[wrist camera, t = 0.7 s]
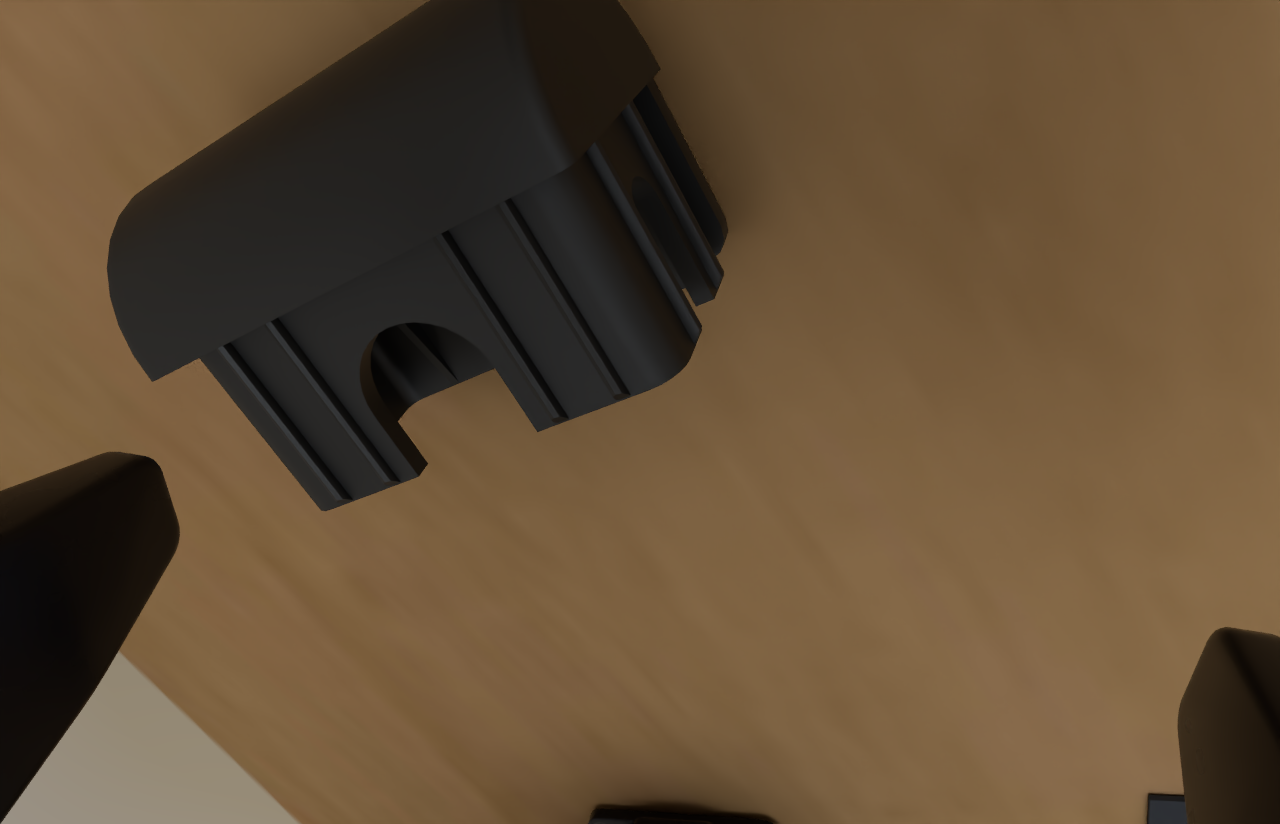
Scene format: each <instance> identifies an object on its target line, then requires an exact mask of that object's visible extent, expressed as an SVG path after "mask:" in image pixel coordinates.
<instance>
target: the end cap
mask: <svg viewBox="0 0 1280 824" xmlns="http://www.w3.org/2000/svg"><path fill="white" fill-rule="evenodd" d="M659 70H660V67H659V65H658V63H657V62H656V60H655V58H654V56H653V54H652V53H651V51H650V49H649V47H648V45H647V43H646V42H645V40H644V39H643V37H642V36H641V34H640V32H639V31H638V29H637V28H636V26H635V25H634V23H633V21H632V20H631V18H630V17H629V16H628V14H627V13H626V11H625V10H624V9H623V7H622V6H621V5H620V3H619V2H618V1H617V0H430V1H428V2H427V3H425V4H424V5H422V6H421V7H419V8H418V9H416V10H415V11H413V12H412V13H410V14H409V15H407V16H405V17H404V18H402V19H401V20H399V21H398V22H396V23H395V24H393V25H392V26H390V27H389V28H387V29H386V30H384V31H383V32H381V33H380V34H378V35H377V36H375V37H373V38H372V39H370V40H369V41H367V42H366V43H364V44H363V45H361V46H360V47H358V48H357V49H355V50H354V51H352V52H351V53H349V54H348V55H346V56H345V57H343V58H342V59H340V60H338V61H337V62H335V63H334V64H332V65H331V66H329V67H328V68H326V69H325V70H323V71H322V72H320V73H319V74H317V75H316V76H314V77H313V78H311V79H310V80H308V81H306V82H305V83H303V84H302V85H300V86H299V87H297V88H296V89H294V90H293V91H291V92H290V93H288V94H287V95H285V96H284V97H282V98H281V99H279V100H278V101H276V102H275V103H273V104H271V105H270V106H268V107H267V108H265V109H264V110H262V111H261V112H259V113H258V114H256V115H255V116H253V117H252V118H250V119H249V120H247V121H246V122H244V123H243V124H241V125H240V126H238V127H236V128H235V129H233V130H232V131H230V132H229V133H227V134H226V135H224V136H223V137H221V138H220V139H218V140H217V141H215V142H214V143H212V144H211V145H209V146H208V147H206V148H204V149H203V150H201V151H200V152H198V153H197V154H195V155H194V156H192V157H191V158H189V159H188V160H186V161H185V162H183V163H182V164H180V165H179V166H177V167H176V168H174V169H173V170H171V171H169V172H168V173H166V174H165V175H163V176H162V177H160V178H159V179H157V180H156V181H154V182H153V183H151V184H150V185H149V186H147V187H146V188H144V189H143V190H142V191H140V192H139V193H138V194H136V195H135V196H134V197H133V198H132V199H131V200H130V202H129V203H128V205H127V206H126V207H125V209H124V210H123V211H122V213H121V214H120V215H119V217H118V220H117V222H116V225H115V228H114V230H113V233H112V236H111V239H110V245H109V254H108V264H107V273H108V282H109V291H110V298H111V302H112V305H113V308H114V311H115V315H116V318H117V321H118V325H119V327H120V329H121V331H122V333H123V335H124V337H125V339H126V341H127V344H128V346H129V348H130V350H131V352H132V354H133V355H134V357H135V358H136V360H137V361H138V363H139V364H140V365H141V367H142V368H143V370H144V371H145V372H146V374H147V375H148V377H149V378H150V379H151V381H152V382H153V381H155V380H157V379H159V378H161V377H163V376H165V375H167V374H169V373H171V372H173V371H175V370H177V369H179V368H181V367H183V366H184V365H186V364H188V363H190V362H192V361H194V360H196V359H198V358H200V359H201V361H202V362H203V363H204V364H205V366H206V367H207V368H208V369H209V371H210V372H211V373H212V374H213V376H214V377H215V378H216V379H217V381H218V382H219V383H220V384H221V386H222V387H223V388H224V389H225V391H226V392H227V393H228V394H229V396H230V397H231V398H232V399H233V401H234V402H235V403H236V404H237V406H238V407H239V408H240V409H241V411H242V412H243V413H244V414H245V416H246V417H247V418H248V419H249V421H250V422H251V423H252V424H253V426H254V427H255V428H256V429H257V431H258V432H259V433H260V434H261V436H262V437H263V438H264V439H265V441H266V442H267V443H268V444H269V446H270V447H271V448H272V449H273V451H274V452H275V453H276V455H277V456H278V457H279V458H280V460H281V461H282V462H283V463H284V465H285V466H286V467H287V468H288V470H289V471H290V472H291V473H292V475H293V476H294V477H295V478H296V480H297V481H298V482H299V483H300V485H301V486H302V487H303V488H304V490H305V491H306V492H307V493H308V495H309V496H310V497H311V498H312V500H313V501H314V502H315V503H316V505H317V506H318V507H319V508H320V510H321V511H327V510H331V509H334V508H336V507H339V506H342V505H344V504H347V503H350V502H352V501H355V500H358V499H360V498H363V497H366V496H368V495H371V494H374V493H376V492H379V491H382V490H384V489H387V488H390V487H392V486H395V485H398V484H400V483H403V482H406V481H408V480H411V479H414V478H416V477H419V476H420V474H421V473H422V471H423V470H424V469H425V467H426V466H427V465H428V463H427V461H426V460H425V459H424V457H423V456H422V455H421V453H420V452H419V450H418V449H417V448H416V446H415V445H414V444H413V442H412V441H411V439H410V438H409V437H408V435H407V434H406V433H405V431H404V430H403V428H402V427H401V426H400V424H399V423H398V422H397V421H398V420H399V419H400V418H401V417H402V415H403V414H404V413H405V412H406V410H407V409H408V408H409V407H410V406H412V405H413V404H414V403H416V402H417V401H419V400H421V399H423V398H425V397H428V396H430V395H432V394H435V393H437V392H439V391H442V390H444V389H447V388H449V387H451V386H454V385H456V384H458V383H461V382H463V381H465V380H468V379H470V378H473V377H475V376H477V375H480V374H482V373H484V372H487V371H489V370H492V369H494V368H495V369H496V370H497V372H498V373H499V375H500V376H501V378H502V379H503V381H504V382H505V384H506V385H507V387H508V388H509V390H510V391H511V393H512V394H513V396H514V397H515V399H516V400H517V402H518V403H519V405H520V406H521V408H522V409H523V411H524V412H525V414H526V415H527V417H528V418H529V420H530V421H531V423H532V424H533V426H534V427H535V429H536V430H537V432H539V431H542V430H544V429H547V428H550V427H552V426H555V425H558V424H560V423H563V422H566V421H568V420H571V419H574V418H576V417H579V416H582V415H584V414H587V413H590V412H592V411H595V410H598V409H600V408H603V407H606V406H608V405H611V404H614V403H616V402H619V401H622V400H624V399H627V398H629V397H632V396H635V395H637V394H640V393H643V392H645V391H648V390H651V389H653V388H655V387H657V386H660V385H662V384H663V383H665V382H667V381H668V380H670V379H671V378H673V377H674V376H675V375H677V374H678V373H679V372H680V371H681V370H682V369H683V368H684V367H685V366H686V365H687V363H688V362H689V360H690V358H691V356H692V353H693V351H694V348H695V346H696V343H697V341H698V338H699V336H700V333H701V331H702V325H701V323H700V321H699V320H698V318H697V316H696V314H695V312H694V311H693V309H692V307H691V305H690V303H689V302H688V300H687V298H686V296H685V294H684V293H683V291H682V289H684V288H686V289H687V291H688V293H689V294H690V296H691V298H692V300H693V302H694V304H695V305H696V306H698V305H701V304H703V303H706V302H708V301H711V300H713V299H714V298H715V296H716V293H717V291H718V288H719V286H720V283H721V281H722V278H723V276H724V271H723V269H722V267H721V265H720V263H719V261H718V259H717V258H716V255H718V254H719V253H720V252H721V250H722V247H723V245H724V242H725V239H726V236H727V233H728V228H727V223H726V219H725V216H724V214H723V212H722V210H721V208H720V206H719V204H718V202H717V200H716V199H715V197H714V195H713V193H712V191H711V189H710V187H709V185H708V183H707V181H706V179H705V177H704V175H703V174H702V172H701V170H700V168H699V166H698V164H697V162H696V160H695V158H694V156H693V154H692V152H691V150H690V149H689V147H688V145H687V143H686V141H685V139H684V137H683V135H682V133H681V131H680V129H679V127H678V125H677V124H676V122H675V120H674V118H673V116H672V114H671V112H670V110H669V108H668V106H667V104H666V102H665V100H664V98H663V97H662V95H661V93H660V91H659V89H658V87H657V85H656V83H655V81H654V79H653V77H654V76H655V75H656V74H657V73H658V71H659Z"/></svg>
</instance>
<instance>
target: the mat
mask: <svg viewBox="0 0 1280 824" xmlns="http://www.w3.org/2000/svg"><path fill="white" fill-rule="evenodd" d="M1147 824H1187V815H1186V805H1185V796H1166V795H1149V798H1148V818H1147Z"/></svg>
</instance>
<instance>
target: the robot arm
mask: <svg viewBox="0 0 1280 824" xmlns="http://www.w3.org/2000/svg"><path fill="white" fill-rule="evenodd" d="M179 537H180V527H179V523H178V519H177V516H176V513H175V510H174V507H173V504H172V501H171V497H170V494H169V491H168V488H167V485H166V482H165V479H164V475H163V472H162V470H161V468H160V466H159V465H158V464H157V463H156V462H155V461H154V460H153V459H151V458H149V457H146V456H141V455H135V454H128V453H122V452H107V453H103V454H100V455H97V456H95V457H92V458H89V459H87V460H84V461H81V462H78V463H76V464H73V465H70V466H67V467H65V468H62V469H59V470H57V471H54V472H51V473H48V474H46V475H43V476H40V477H38V478H35V479H32V480H29V481H27V482H24V483H21V484H18V485H16V486H13V487H10V488H8V489H5V490H2V491H0V823H1V822H2V821H3V820H4V818H5V816H6V815H7V814H8V812H9V811H10V810H11V808H12V807H13V805H14V804H15V803H16V801H17V800H18V799H19V797H20V796H21V794H22V793H23V791H24V790H25V789H26V787H27V786H28V784H29V783H30V782H31V780H32V779H33V777H34V776H35V775H36V773H37V772H38V770H39V769H40V768H41V766H42V765H43V764H44V762H45V761H46V759H47V758H48V756H49V755H50V754H51V752H52V751H53V749H54V748H55V747H56V745H57V744H58V742H59V741H60V740H61V738H62V737H63V735H64V734H65V733H66V731H67V730H68V728H69V727H70V726H71V724H72V723H73V721H74V720H75V719H76V717H77V716H78V714H79V713H80V712H81V710H82V709H83V707H84V706H85V704H86V703H87V701H88V700H89V698H90V697H91V695H92V694H93V692H94V691H95V689H96V688H97V686H98V684H99V683H100V681H101V679H102V678H103V676H104V675H105V673H106V671H107V670H108V668H109V666H110V665H111V663H112V661H113V659H114V657H115V656H116V654H117V653H118V651H119V649H120V647H121V646H122V644H123V642H124V640H125V639H126V637H127V635H128V633H129V632H130V630H131V628H132V627H133V625H134V623H135V621H136V620H137V618H138V616H139V614H140V613H141V611H142V609H143V608H144V606H145V604H146V602H147V601H148V599H149V597H150V595H151V594H152V592H153V590H154V589H155V587H156V585H157V583H158V582H159V580H160V578H161V576H162V575H163V573H164V571H165V570H166V568H167V566H168V564H169V563H170V561H171V559H172V557H173V556H174V554H175V552H176V549H177V546H178V543H179ZM1178 738H1179V748H1180V757H1181V767H1182V776H1183V786H1184V796H1185V805H1186V815H1187V824H1280V637H1278V636H1276V635H1273V634H1268V633H1262V632H1256V631H1249V630H1243V629H1237V628H1230V627H1224V628H1220V629H1218V630H1216V631H1215V632H1214V633H1213V634H1212V635H1211V636H1210V637H1209V639H1208V641H1207V643H1206V645H1205V648H1204V650H1203V652H1202V654H1201V657H1200V659H1199V661H1198V663H1197V666H1196V668H1195V670H1194V673H1193V675H1192V677H1191V679H1190V682H1189V684H1188V686H1187V688H1186V691H1185V693H1184V695H1183V698H1182V700H1181V704H1180V708H1179V714H1178ZM588 824H773V823H772V822H769V821H767V820H762V819H749V818H734V817H718V816H703V815H688V814H673V813H658V812H643V811H628V810H613V809H596V810H594V811H593V812H592V813H591V816H590V819H589V822H588Z"/></svg>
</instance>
